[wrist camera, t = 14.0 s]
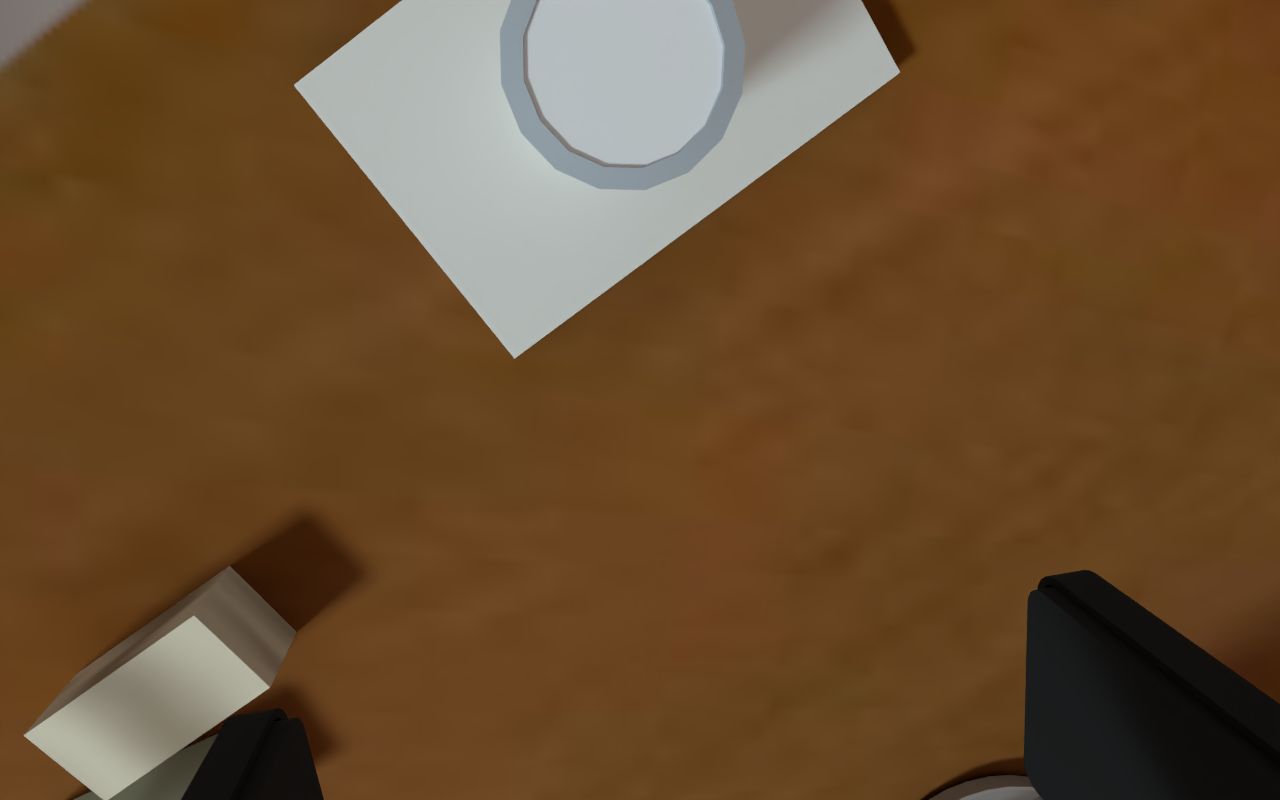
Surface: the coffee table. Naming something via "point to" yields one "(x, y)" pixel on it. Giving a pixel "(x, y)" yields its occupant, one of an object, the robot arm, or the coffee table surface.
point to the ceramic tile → (528, 184)
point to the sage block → (165, 776)
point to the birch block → (165, 685)
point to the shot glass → (622, 84)
